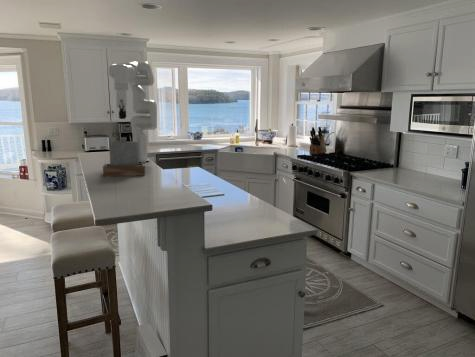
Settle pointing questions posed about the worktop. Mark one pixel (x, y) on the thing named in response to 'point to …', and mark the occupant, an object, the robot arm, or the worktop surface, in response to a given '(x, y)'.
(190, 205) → the worktop surface
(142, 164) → the u rest
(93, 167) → the worktop surface
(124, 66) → the robot arm
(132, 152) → the hip flask
